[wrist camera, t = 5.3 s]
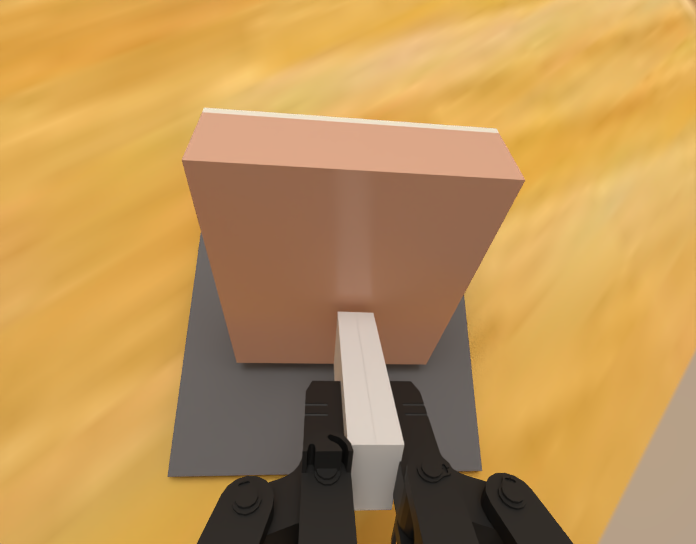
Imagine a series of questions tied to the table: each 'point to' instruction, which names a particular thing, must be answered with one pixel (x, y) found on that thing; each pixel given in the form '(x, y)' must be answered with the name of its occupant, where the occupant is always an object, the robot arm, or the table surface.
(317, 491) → the robot arm
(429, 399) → the mat
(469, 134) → the tile
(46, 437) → the table surface
